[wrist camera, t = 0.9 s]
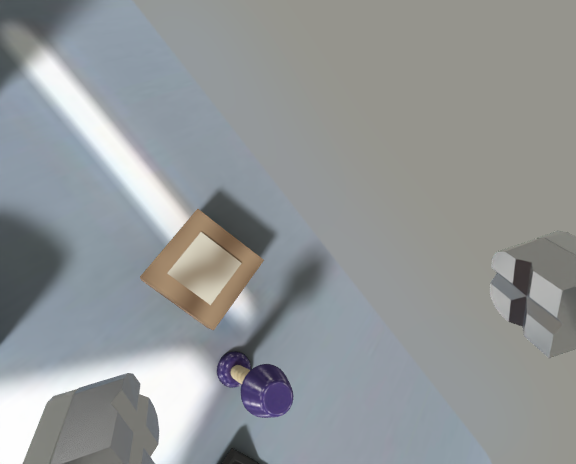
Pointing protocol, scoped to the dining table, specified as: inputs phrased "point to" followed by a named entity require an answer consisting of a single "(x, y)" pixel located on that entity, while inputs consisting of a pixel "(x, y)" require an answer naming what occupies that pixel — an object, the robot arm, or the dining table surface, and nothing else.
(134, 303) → the dining table surface
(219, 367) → the toy lamp
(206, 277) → the cardboard box
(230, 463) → the calculator
